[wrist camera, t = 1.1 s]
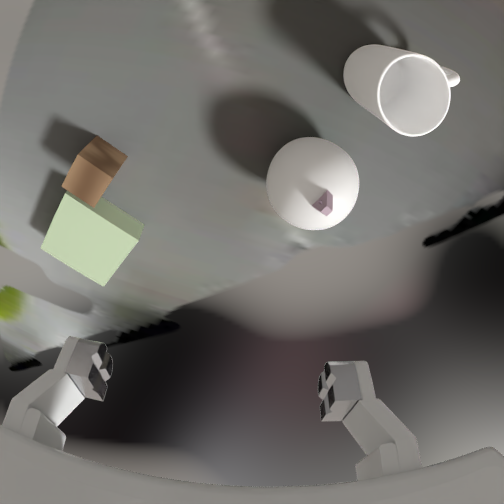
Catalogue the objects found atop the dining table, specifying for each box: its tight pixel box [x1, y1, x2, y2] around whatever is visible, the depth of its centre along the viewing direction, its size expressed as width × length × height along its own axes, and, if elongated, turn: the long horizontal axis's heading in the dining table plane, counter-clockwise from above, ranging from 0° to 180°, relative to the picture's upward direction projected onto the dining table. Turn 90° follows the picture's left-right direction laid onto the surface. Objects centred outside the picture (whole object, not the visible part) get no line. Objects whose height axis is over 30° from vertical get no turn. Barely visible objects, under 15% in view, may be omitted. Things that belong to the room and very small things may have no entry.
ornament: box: [266, 137, 359, 230], centre depth 34 cm, size 10×10×12 cm
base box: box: [41, 191, 144, 287], centre depth 41 cm, size 12×12×4 cm
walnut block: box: [62, 136, 128, 208], centre depth 34 cm, size 5×5×6 cm
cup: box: [343, 44, 460, 136], centre depth 26 cm, size 8×12×10 cm
